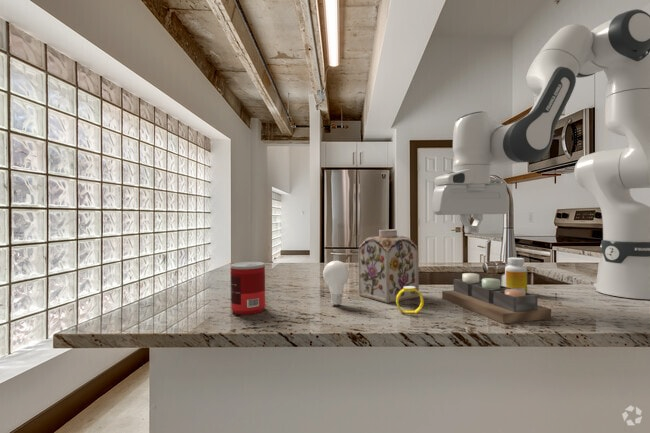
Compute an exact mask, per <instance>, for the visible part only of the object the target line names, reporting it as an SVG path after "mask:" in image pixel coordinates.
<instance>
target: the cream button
mask: <svg viewBox="0 0 650 433" xmlns="http://www.w3.org/2000/svg"><path fill="white" fill-rule="evenodd" d="M461 275H462V278H461V279H462V281H463V282H467V283H477V282H479V280H480V274H479V273H474V272H464V273H461Z"/></svg>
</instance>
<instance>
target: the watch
mask: <svg viewBox="0 0 650 433" xmlns="http://www.w3.org/2000/svg"><path fill="white" fill-rule="evenodd" d="M405 291H416V292H417V293H418V294H419V295H418V296H419V297H420V303H419V306H418V307H416V309H414V310H403V309H402V308H401V306H400V304H399V303H400V301H399V297H400V296H401V294H402V293H403V292H405ZM424 303H425V301H424V296H423V294H422V293H421V292H420V290H419V291H418V290H416V287H414V286H404V287H403V289H402V290H400V291H399V293H398V294H397V297H396V302H395V304H396V306H397V308H398V310H399V311H400V312H402V313H403V314H408V315H409V314H418V313H420V311H422V309H423V308H424Z"/></svg>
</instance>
